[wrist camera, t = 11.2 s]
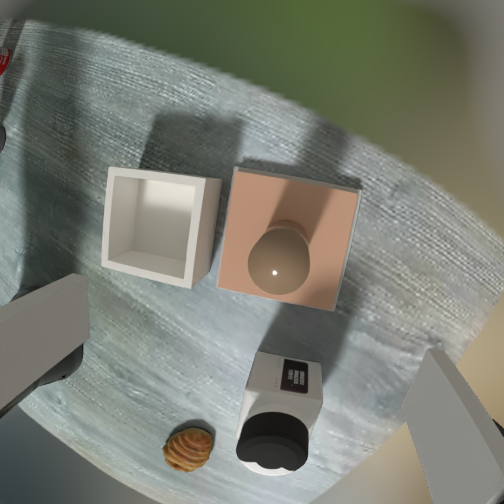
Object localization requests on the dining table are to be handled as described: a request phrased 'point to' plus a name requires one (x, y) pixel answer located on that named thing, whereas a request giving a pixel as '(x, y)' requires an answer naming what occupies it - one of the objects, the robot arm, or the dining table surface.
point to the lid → (286, 239)
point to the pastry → (188, 449)
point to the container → (278, 413)
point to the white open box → (160, 224)
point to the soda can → (4, 59)
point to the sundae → (2, 137)
